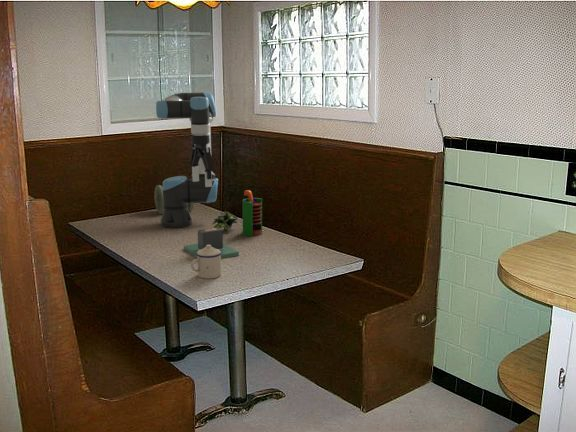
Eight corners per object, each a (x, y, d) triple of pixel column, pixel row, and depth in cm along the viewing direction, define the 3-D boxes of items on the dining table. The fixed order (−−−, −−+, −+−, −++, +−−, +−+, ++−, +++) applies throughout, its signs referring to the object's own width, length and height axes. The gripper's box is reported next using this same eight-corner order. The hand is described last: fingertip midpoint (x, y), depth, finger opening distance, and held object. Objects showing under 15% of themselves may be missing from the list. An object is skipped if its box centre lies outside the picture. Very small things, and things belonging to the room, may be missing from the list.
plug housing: (198, 248, 267) (197, 229, 265) (218, 245, 271) (217, 226, 269) (203, 251, 262) (202, 232, 260) (223, 248, 267) (222, 229, 265)
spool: (164, 216, 329) (162, 188, 326) (155, 211, 342) (153, 183, 338) (194, 213, 337) (193, 185, 333) (184, 207, 350) (183, 180, 346)
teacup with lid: (214, 269, 245) (213, 240, 242) (226, 276, 237) (225, 245, 235) (185, 275, 238) (184, 245, 235) (197, 282, 231) (196, 251, 228)
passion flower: (225, 240, 305) (237, 218, 307) (233, 242, 295) (245, 219, 297) (205, 229, 300) (217, 207, 303) (212, 230, 290) (225, 207, 293)
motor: (259, 236, 291) (258, 193, 286) (240, 235, 293) (239, 192, 288) (264, 231, 301) (263, 189, 296) (245, 230, 302) (245, 188, 298)
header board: (183, 249, 272) (183, 239, 270) (218, 243, 279) (217, 233, 278) (202, 261, 255) (202, 250, 254) (238, 255, 263) (238, 244, 262)
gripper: (221, 136, 260) (222, 187, 266) (196, 130, 281) (198, 178, 286) (204, 138, 257) (205, 189, 262) (180, 131, 277) (182, 180, 283)
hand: (202, 184), depth 274 cm, fingers open, 13 cm apart
